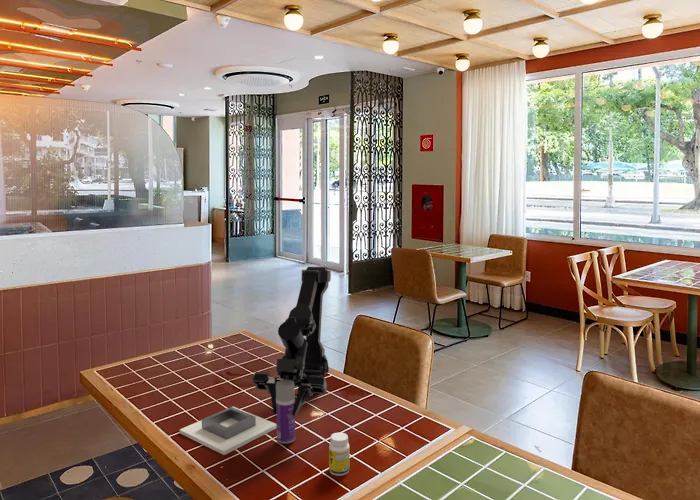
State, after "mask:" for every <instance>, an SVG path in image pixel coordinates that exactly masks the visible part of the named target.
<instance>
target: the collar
mask: <svg viewBox="0 0 700 500" xmlns="http://www.w3.org/2000/svg"><path fill="white" fill-rule="evenodd" d="M233 407H234V406H230V407H227V408H225V409H222V410H219V411H218V412H216V413H213V414H211V415H209V416H206V417H204V418H202V419H201V420H202V429H204V430H206V431H209V432H211V433H213V434H215V435H217V436H219V437H221V438H224V439H226V440H227V439H229V438H231V437H233V436H235V435H237V434H239V433H241V432H243V431H245V430H247V429H250V428H252V427H254V426H256V417H255V416H256V415H255V416H253V415H254V414H253V415H250V414H251V413H250V414H248V413H249V412H248V413H245V412H246V411H245V412H243V411H244V410H243V411H240V410H241V409H240V410H238V409H239V408H238V409H235V408H236V407H235V408H233ZM230 418H232V419H234V420H237V421H239V422H237V423H235V424H233V425H231V426H229V427H225V426H223V425H220V424H219V423H221V422H223V421H225V420H227V419H230Z"/></svg>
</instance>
